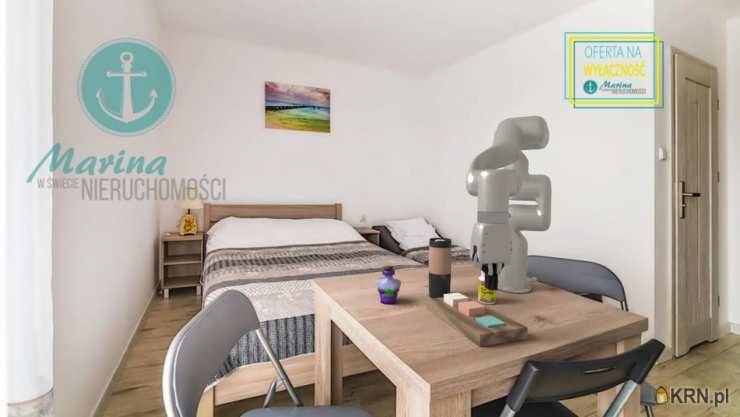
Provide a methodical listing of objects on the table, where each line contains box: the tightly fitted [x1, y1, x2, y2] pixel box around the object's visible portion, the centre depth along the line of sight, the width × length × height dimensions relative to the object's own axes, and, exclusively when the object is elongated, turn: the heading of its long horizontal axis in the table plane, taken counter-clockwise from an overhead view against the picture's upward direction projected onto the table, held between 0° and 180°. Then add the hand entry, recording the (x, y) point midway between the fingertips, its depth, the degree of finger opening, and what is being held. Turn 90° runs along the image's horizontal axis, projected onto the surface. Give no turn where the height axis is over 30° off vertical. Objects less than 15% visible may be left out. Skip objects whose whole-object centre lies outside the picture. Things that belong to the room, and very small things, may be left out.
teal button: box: [475, 316, 505, 328], centre depth 89 cm, size 5×5×3 cm
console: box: [425, 294, 529, 348], centre depth 96 cm, size 14×27×3 cm, turn 18°
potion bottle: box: [375, 265, 402, 306], centre depth 113 cm, size 9×9×12 cm
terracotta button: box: [458, 301, 485, 317], centre depth 96 cm, size 5×5×3 cm
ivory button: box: [444, 292, 469, 307], centre depth 104 cm, size 5×5×3 cm
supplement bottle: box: [477, 270, 497, 305], centre depth 113 cm, size 6×6×10 cm
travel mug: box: [428, 237, 452, 299], centre depth 118 cm, size 8×8×20 cm
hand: (491, 288), depth 88 cm, fingers closed
